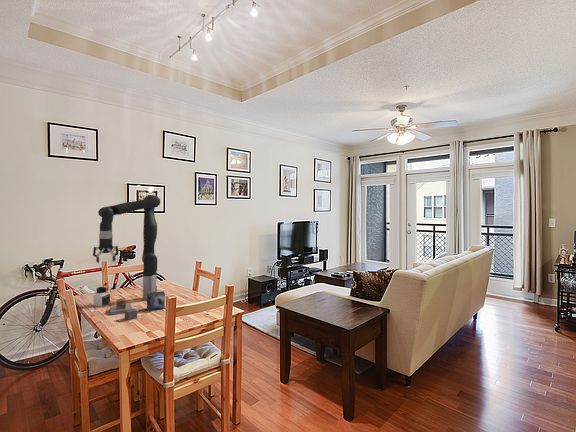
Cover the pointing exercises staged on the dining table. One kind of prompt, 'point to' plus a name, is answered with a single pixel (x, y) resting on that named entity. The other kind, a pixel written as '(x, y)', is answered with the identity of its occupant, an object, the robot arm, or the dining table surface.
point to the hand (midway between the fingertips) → (105, 262)
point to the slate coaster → (119, 311)
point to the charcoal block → (130, 314)
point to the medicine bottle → (101, 297)
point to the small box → (155, 300)
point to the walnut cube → (120, 303)
